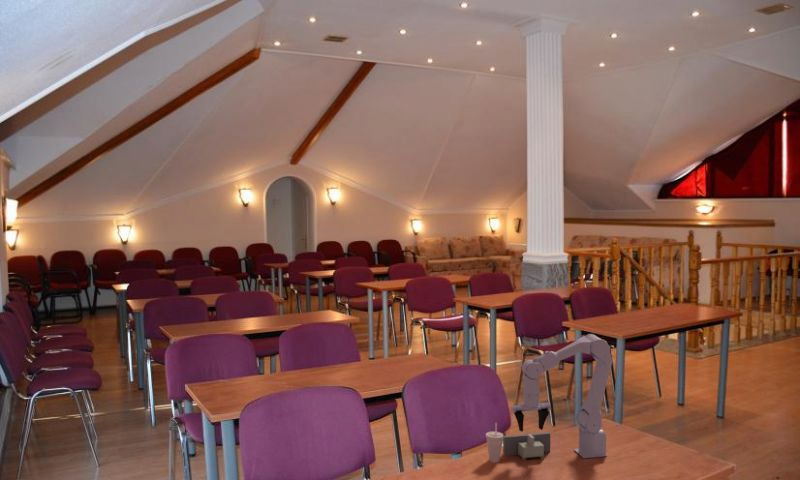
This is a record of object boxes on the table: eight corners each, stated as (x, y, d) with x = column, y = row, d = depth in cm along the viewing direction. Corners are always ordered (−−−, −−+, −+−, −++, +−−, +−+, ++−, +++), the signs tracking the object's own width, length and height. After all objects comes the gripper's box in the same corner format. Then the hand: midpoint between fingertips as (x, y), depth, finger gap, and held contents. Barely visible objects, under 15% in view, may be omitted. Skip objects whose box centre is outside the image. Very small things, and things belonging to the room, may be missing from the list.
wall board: (548, 450, 257) (548, 432, 256) (553, 454, 252) (553, 436, 252) (503, 454, 253) (503, 436, 253) (507, 459, 249) (507, 440, 248)
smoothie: (502, 464, 244) (503, 426, 243) (484, 463, 245) (484, 425, 244) (503, 457, 250) (503, 420, 249) (486, 456, 252) (486, 419, 250)
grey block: (538, 453, 254) (538, 432, 253) (543, 458, 249) (544, 437, 248) (517, 455, 252) (518, 434, 252) (523, 461, 247) (523, 439, 246)
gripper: (516, 398, 243) (516, 435, 244) (554, 395, 246) (554, 431, 247) (509, 392, 250) (509, 428, 251) (546, 389, 253) (546, 425, 254)
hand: (530, 429), depth 250 cm, fingers open, 7 cm apart
